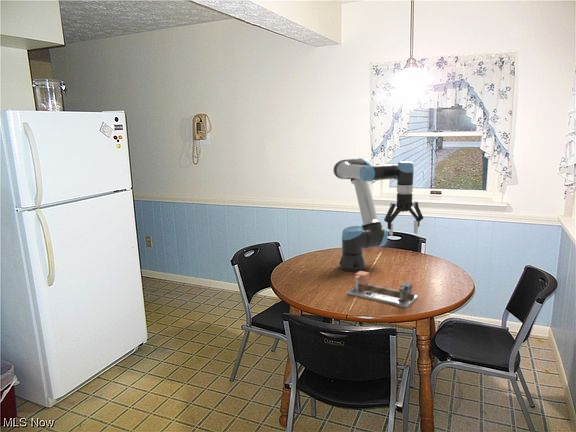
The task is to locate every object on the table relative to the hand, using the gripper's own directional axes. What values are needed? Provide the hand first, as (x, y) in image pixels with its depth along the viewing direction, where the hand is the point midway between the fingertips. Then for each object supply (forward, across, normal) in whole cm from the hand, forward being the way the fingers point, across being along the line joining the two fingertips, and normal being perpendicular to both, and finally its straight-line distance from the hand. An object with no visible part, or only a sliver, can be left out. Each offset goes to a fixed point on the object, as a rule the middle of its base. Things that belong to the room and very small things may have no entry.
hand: (403, 234), depth 216 cm
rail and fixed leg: (+23, -18, -16) cm, 34 cm away
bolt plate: (+24, -18, -17) cm, 35 cm away
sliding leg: (+23, -26, -8) cm, 35 cm away
